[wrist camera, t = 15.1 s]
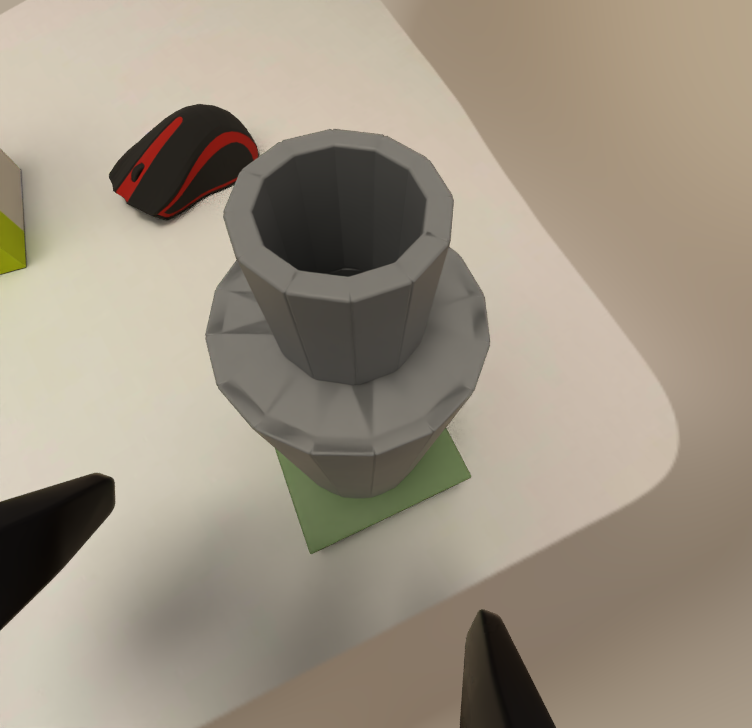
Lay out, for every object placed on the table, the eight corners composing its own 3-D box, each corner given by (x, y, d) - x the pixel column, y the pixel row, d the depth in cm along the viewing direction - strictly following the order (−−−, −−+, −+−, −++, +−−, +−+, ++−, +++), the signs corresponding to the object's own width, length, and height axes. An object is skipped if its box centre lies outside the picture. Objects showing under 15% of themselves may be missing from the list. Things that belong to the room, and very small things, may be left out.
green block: (318, 550, 19) (309, 554, 16) (270, 409, 22) (256, 392, 19) (457, 483, 20) (472, 477, 17) (395, 359, 23) (399, 337, 20)
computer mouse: (108, 190, 28) (69, 140, 24) (224, 123, 31) (206, 70, 28) (156, 235, 26) (122, 188, 23) (274, 159, 30) (261, 108, 26)
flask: (319, 520, 16) (155, 493, 4) (282, 399, 19) (97, 120, 6) (441, 468, 18) (645, 308, 5) (392, 360, 20) (439, 48, 7)
